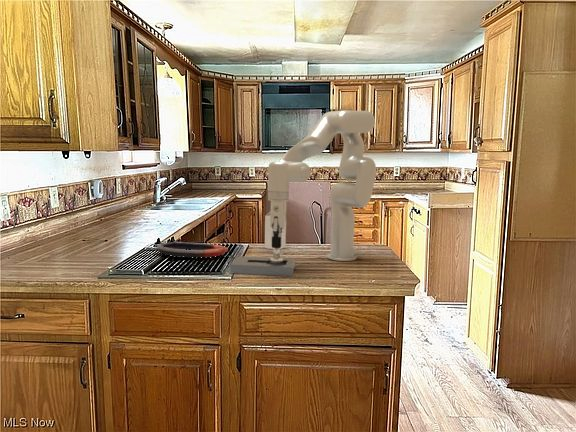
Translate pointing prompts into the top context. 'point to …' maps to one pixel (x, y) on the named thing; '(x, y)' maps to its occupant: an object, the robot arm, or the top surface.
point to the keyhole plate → (262, 266)
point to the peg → (277, 251)
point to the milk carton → (268, 233)
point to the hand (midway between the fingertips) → (277, 245)
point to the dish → (198, 250)
